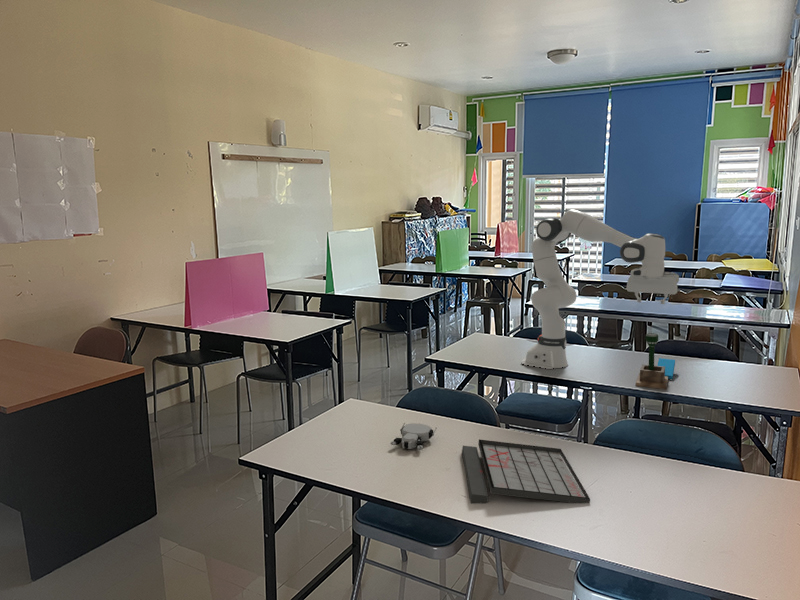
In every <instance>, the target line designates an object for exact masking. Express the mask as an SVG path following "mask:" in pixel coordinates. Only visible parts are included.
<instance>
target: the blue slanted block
mask: <svg viewBox="0 0 800 600" xmlns="http://www.w3.org/2000/svg"><path fill="white" fill-rule="evenodd" d="M656 366H663V367H665V376H668V379H672V380H673V377H674V371H675V367H676V359H669V358H660V357H659V358H658V362H657V365H656Z"/></svg>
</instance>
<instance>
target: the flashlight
mask: <svg viewBox="0 0 800 600" xmlns="http://www.w3.org/2000/svg"><path fill="white" fill-rule="evenodd" d="M658 341H659V334H658V333H646V334H645V342H646V344H647V345H648V365H649V370H653V371H654V366H655V346H657V343H658Z"/></svg>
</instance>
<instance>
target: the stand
mask: <svg viewBox="0 0 800 600" xmlns="http://www.w3.org/2000/svg"><path fill="white" fill-rule="evenodd" d="M668 382H669V380H668V376H665V367H663V366H657V365H654V371H653V370H649V364H641V366H640V369H639V373H638V376H637V379H636V380H635V387H642V388H651V389H658V390H659V389H661V390H667V387H668Z"/></svg>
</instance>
